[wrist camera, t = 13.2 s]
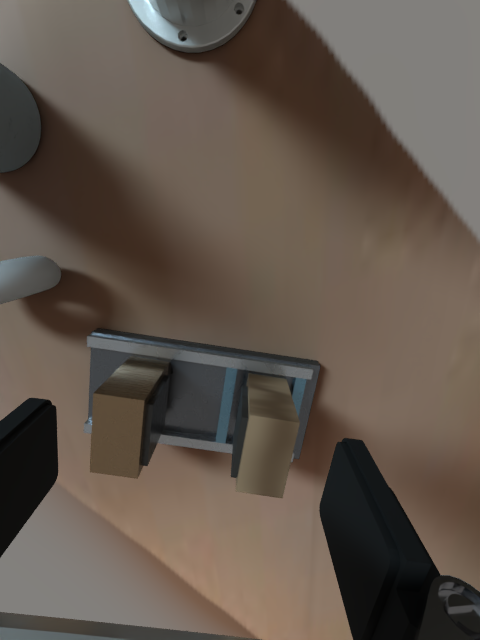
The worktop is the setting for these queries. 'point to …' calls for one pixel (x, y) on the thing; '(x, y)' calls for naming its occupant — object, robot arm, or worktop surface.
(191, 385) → the rail
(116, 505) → the worktop surface
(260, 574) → the worktop surface
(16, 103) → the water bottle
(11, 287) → the donut
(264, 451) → the tan wooden block
